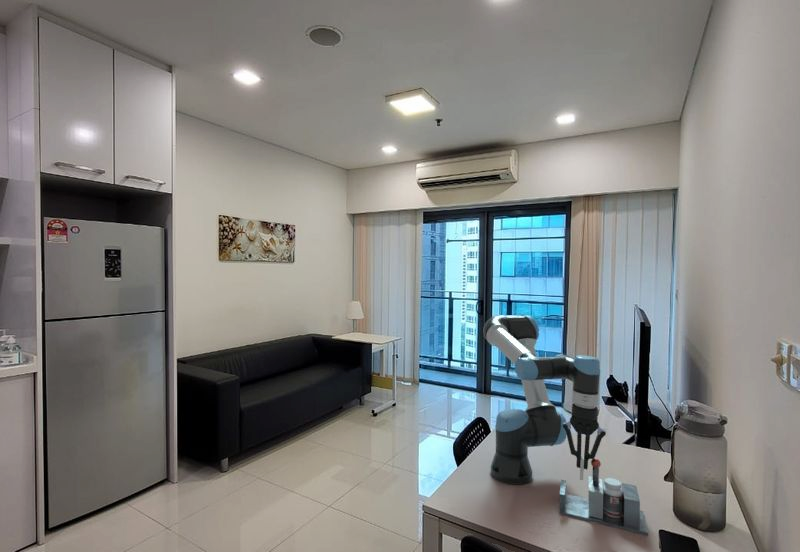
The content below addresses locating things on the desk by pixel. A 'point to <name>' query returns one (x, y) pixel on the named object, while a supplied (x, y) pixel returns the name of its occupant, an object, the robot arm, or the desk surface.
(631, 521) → the vise body
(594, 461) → the free jaw
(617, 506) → the pill bottle
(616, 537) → the desk surface
